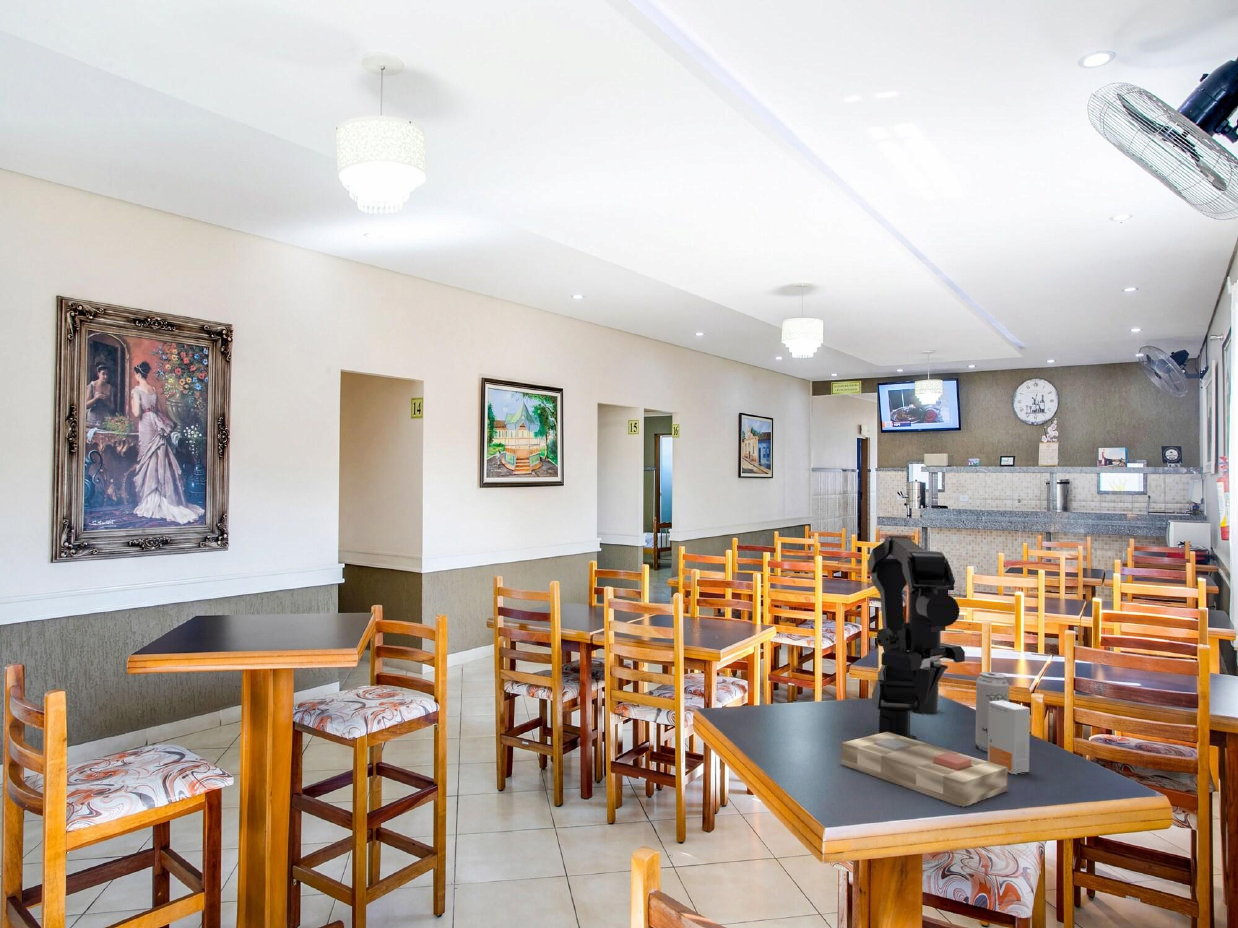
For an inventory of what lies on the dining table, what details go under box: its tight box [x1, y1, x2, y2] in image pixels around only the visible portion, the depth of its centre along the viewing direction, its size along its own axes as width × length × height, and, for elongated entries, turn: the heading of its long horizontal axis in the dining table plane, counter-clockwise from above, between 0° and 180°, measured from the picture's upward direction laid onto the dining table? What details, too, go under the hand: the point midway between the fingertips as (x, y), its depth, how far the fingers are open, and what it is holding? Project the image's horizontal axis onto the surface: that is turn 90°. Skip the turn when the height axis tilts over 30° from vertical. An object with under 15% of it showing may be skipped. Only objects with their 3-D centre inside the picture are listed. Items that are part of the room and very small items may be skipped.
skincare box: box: [986, 700, 1031, 775], centre depth 148 cm, size 6×4×12 cm
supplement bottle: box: [912, 680, 940, 715], centre depth 189 cm, size 7×7×12 cm
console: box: [840, 732, 1008, 808], centre depth 141 cm, size 14×24×4 cm, turn 36°
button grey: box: [875, 738, 910, 751], centre depth 146 cm, size 4×4×4 cm
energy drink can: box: [975, 671, 1010, 753], centre depth 160 cm, size 6×6×15 cm
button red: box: [934, 753, 972, 771], centre depth 137 cm, size 4×4×4 cm
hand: (923, 702), depth 147 cm, fingers closed
